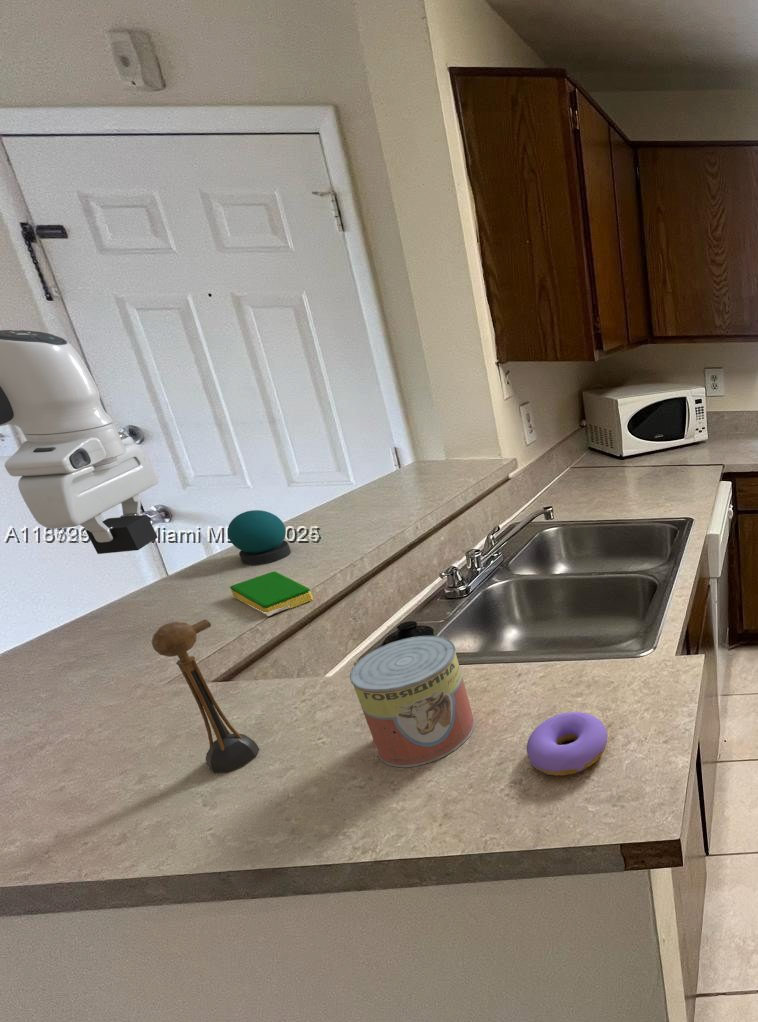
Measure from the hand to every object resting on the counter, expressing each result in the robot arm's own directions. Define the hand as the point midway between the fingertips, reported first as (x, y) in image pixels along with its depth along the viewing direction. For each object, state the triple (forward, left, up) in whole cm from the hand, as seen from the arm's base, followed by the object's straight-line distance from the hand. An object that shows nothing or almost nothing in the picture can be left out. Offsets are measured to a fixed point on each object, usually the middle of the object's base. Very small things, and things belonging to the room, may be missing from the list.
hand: (121, 532), depth 95 cm
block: (0, 0, -2) cm, 2 cm away
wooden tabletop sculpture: (+25, -38, -19) cm, 49 cm away
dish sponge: (+12, +7, -19) cm, 23 cm away
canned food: (+47, -41, -19) cm, 65 cm away
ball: (+3, +28, -18) cm, 34 cm away
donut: (+65, -50, -19) cm, 84 cm away
